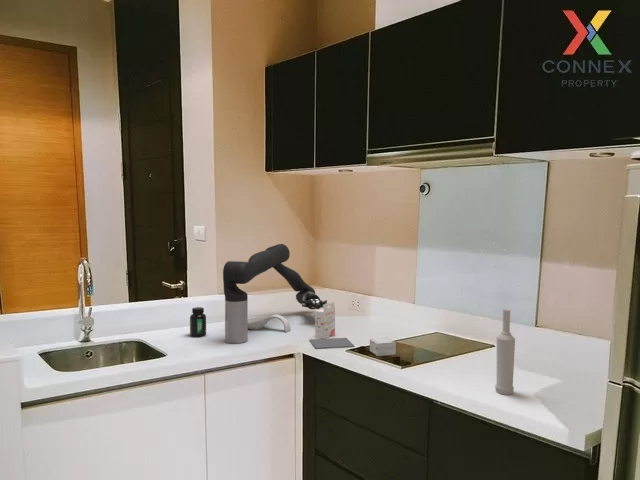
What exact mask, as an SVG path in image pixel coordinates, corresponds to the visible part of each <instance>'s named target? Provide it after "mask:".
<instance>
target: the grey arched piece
mask: <svg viewBox="0 0 640 480" xmlns="http://www.w3.org/2000/svg"><path fill="white" fill-rule="evenodd" d="M273 319H278V320H279V321H281V323H282V324H283V328H284V333H288V332H290V331H291V329H292V328H291V325H290V322H289V321H288V320H287V319H286V318H285V317H284V316H283V315H281V314H272V315H269V316H264V317H252V318H248V329H249V330H253V331H255V330H261V329H263V327H265V326H266V325H267V324H268V322H270V321H271V320H273Z"/></svg>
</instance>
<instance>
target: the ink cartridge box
mask: <svg viewBox="0 0 640 480" xmlns="http://www.w3.org/2000/svg"><path fill="white" fill-rule="evenodd" d="M314 330H315V331H314V335H315V336H314V337H315V338H316V339H328V338H330V337H331V338H332V337H333V336H335V335H336V307H335V302H329V303H328V302H327V304H324V305H323V307H322V308H320V309H315V311H314Z"/></svg>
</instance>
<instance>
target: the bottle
mask: <svg viewBox="0 0 640 480" xmlns="http://www.w3.org/2000/svg"><path fill="white" fill-rule="evenodd" d="M510 323H511V309H507V308H506V309H505V308H504V309H502V331H501V332H500V334H499V335H498V336H496V380H495V381H496V384H495V391H496V393H498V394H499V395H504V396H510V395H513V393H514V391H515V390H514V389H515V388H514V386H513V385H514V371H515V370H514V369H515V350H516V348H515V347H516V338H515V337H514V336H513V335H512V332H510V329H511V327H510V325H511V324H510Z"/></svg>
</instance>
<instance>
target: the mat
mask: <svg viewBox="0 0 640 480" xmlns="http://www.w3.org/2000/svg"><path fill="white" fill-rule="evenodd" d="M308 340H309V343H311V345H312V347H314V349H315V350H323V349H326V350H327V349H340V348H341V349H343V348H355V347H356V346H355V345H354V343H352V342H351V341H350V339H349V338H347V337H334V338H333V337H331V338H330V337H328V338H325V339H322V338H313V339H312V338H311V339H308Z"/></svg>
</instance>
